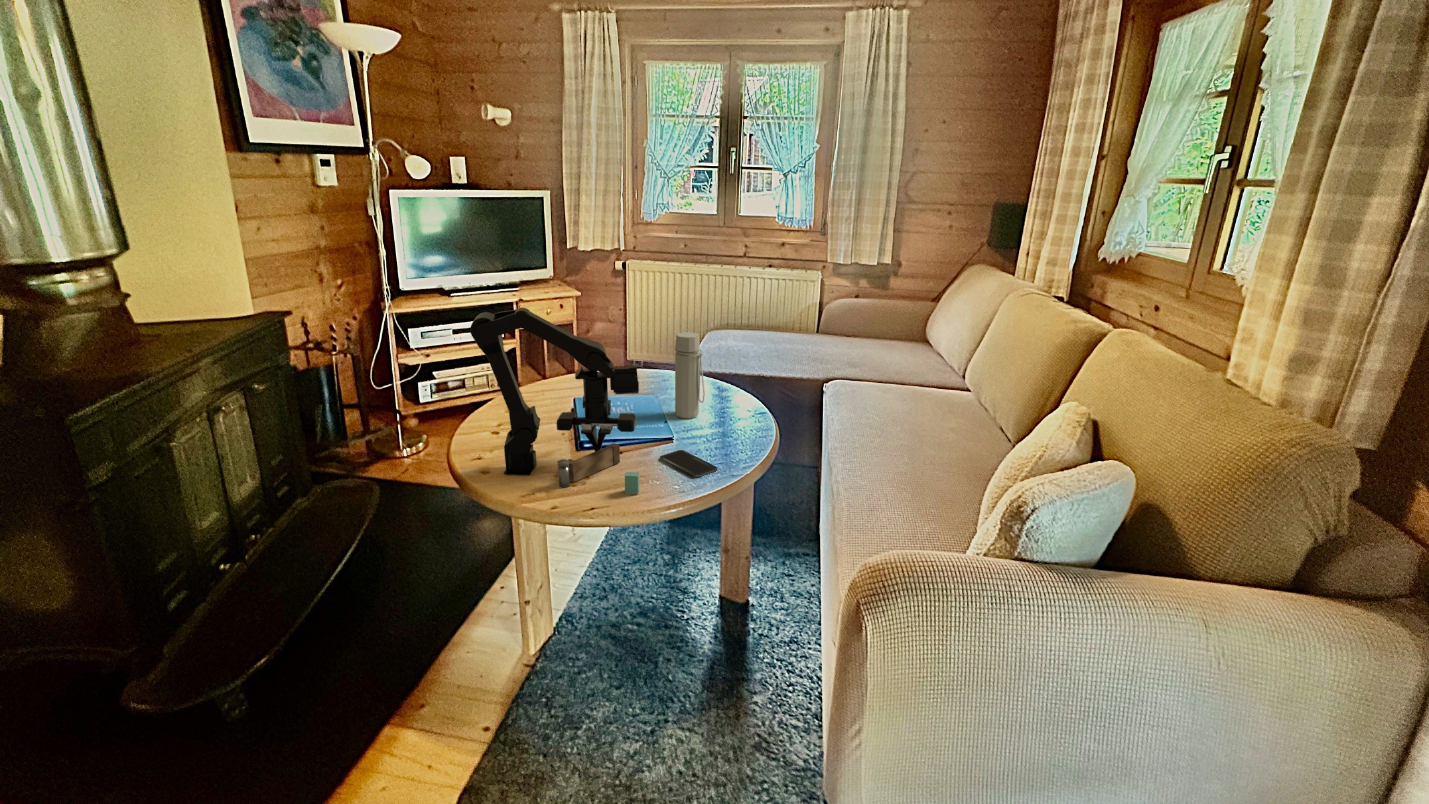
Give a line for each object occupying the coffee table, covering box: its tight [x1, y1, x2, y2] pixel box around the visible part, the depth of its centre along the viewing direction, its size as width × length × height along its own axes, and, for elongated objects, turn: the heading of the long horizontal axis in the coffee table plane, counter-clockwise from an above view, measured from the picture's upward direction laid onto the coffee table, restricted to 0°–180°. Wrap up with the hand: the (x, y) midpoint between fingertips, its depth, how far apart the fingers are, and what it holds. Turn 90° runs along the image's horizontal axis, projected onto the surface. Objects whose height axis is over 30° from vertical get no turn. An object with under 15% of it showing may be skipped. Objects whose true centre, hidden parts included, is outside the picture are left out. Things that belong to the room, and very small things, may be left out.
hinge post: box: [557, 465, 571, 489], centre depth 158 cm, size 2×2×5 cm
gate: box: [557, 442, 621, 483], centre depth 164 cm, size 18×3×6 cm, turn 142°
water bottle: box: [674, 331, 706, 420], centre depth 200 cm, size 9×8×25 cm
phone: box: [659, 449, 718, 479], centre depth 171 cm, size 8×1×15 cm
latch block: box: [624, 471, 640, 495], centre depth 156 cm, size 3×2×5 cm
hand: (598, 453), depth 169 cm, fingers closed
